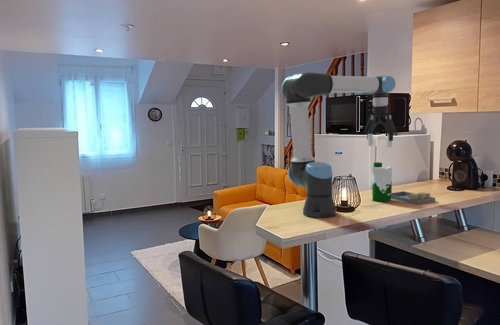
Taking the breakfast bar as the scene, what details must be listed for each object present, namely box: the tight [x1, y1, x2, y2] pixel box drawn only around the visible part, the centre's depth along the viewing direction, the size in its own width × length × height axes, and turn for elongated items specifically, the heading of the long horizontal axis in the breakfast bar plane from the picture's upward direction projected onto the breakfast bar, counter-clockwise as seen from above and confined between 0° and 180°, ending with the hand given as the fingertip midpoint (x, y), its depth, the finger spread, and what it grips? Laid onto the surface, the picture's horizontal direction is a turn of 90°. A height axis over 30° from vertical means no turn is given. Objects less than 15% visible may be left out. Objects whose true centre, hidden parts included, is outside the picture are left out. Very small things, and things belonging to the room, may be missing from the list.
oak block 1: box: [409, 192, 421, 201], centre depth 188 cm, size 4×4×4 cm
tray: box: [391, 190, 436, 206], centre depth 195 cm, size 13×20×2 cm, turn 25°
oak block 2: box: [417, 191, 431, 200], centre depth 190 cm, size 4×4×4 cm
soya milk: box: [371, 161, 393, 203], centre depth 194 cm, size 9×9×20 cm
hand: (379, 146), depth 201 cm, fingers open, 13 cm apart
